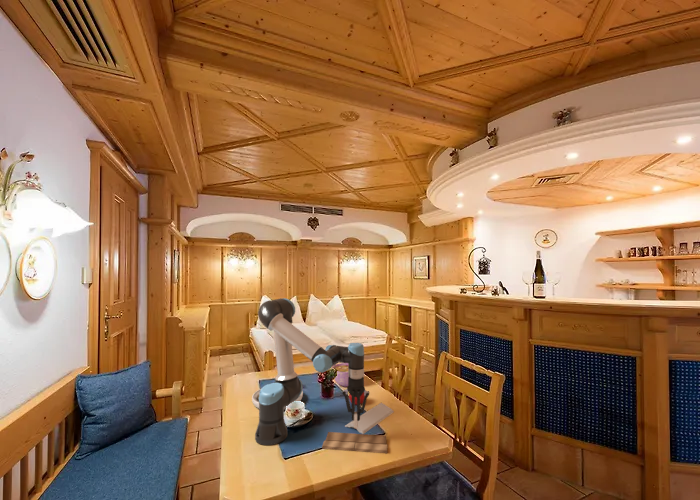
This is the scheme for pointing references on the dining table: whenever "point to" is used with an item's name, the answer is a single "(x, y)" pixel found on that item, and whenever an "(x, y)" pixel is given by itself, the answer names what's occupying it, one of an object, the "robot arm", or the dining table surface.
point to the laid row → (355, 446)
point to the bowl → (256, 398)
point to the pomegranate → (356, 399)
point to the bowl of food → (342, 374)
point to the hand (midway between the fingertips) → (355, 427)
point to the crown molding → (372, 418)
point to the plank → (356, 438)
